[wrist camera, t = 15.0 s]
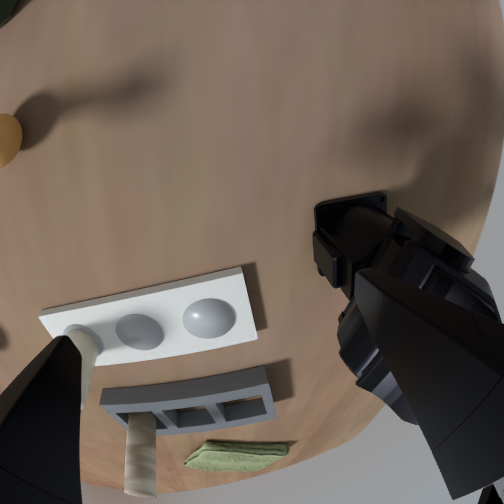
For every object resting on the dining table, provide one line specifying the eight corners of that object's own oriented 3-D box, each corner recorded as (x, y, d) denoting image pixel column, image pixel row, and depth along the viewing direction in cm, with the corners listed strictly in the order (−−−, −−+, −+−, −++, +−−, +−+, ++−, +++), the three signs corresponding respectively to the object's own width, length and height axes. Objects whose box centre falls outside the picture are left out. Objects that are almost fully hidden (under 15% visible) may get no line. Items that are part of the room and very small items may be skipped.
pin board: (264, 365, 29) (268, 383, 26) (273, 402, 33) (277, 417, 31) (102, 389, 27) (99, 405, 25) (135, 422, 32) (134, 436, 30)
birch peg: (156, 401, 30) (155, 494, 18) (157, 413, 31) (157, 499, 20) (128, 397, 29) (121, 489, 17) (131, 410, 30) (126, 494, 19)
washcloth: (201, 436, 37) (203, 452, 34) (291, 440, 43) (295, 453, 40) (181, 457, 42) (182, 471, 39) (259, 461, 48) (262, 473, 45)
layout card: (240, 266, 22) (259, 339, 15) (256, 331, 26) (274, 401, 19) (41, 310, 21) (11, 370, 14) (78, 360, 25) (62, 419, 18)
